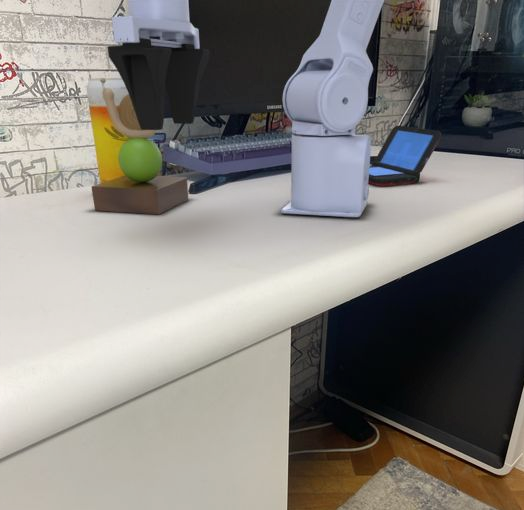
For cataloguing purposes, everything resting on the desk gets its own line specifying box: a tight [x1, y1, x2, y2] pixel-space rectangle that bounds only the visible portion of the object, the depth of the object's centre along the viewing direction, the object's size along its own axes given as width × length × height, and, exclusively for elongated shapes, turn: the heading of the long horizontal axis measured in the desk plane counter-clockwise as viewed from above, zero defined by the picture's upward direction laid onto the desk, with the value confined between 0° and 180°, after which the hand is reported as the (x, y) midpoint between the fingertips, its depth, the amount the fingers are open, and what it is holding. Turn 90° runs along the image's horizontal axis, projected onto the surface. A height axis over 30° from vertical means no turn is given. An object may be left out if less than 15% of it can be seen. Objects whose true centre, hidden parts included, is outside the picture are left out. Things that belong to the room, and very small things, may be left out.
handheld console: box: [368, 125, 442, 187], centre depth 85 cm, size 12×11×7 cm
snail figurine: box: [100, 77, 163, 182], centre depth 66 cm, size 5×6×12 cm
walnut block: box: [91, 175, 189, 215], centre depth 70 cm, size 9×9×3 cm
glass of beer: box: [85, 77, 131, 184], centre depth 75 cm, size 6×6×15 cm
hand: (168, 126), depth 56 cm, fingers open, 7 cm apart
